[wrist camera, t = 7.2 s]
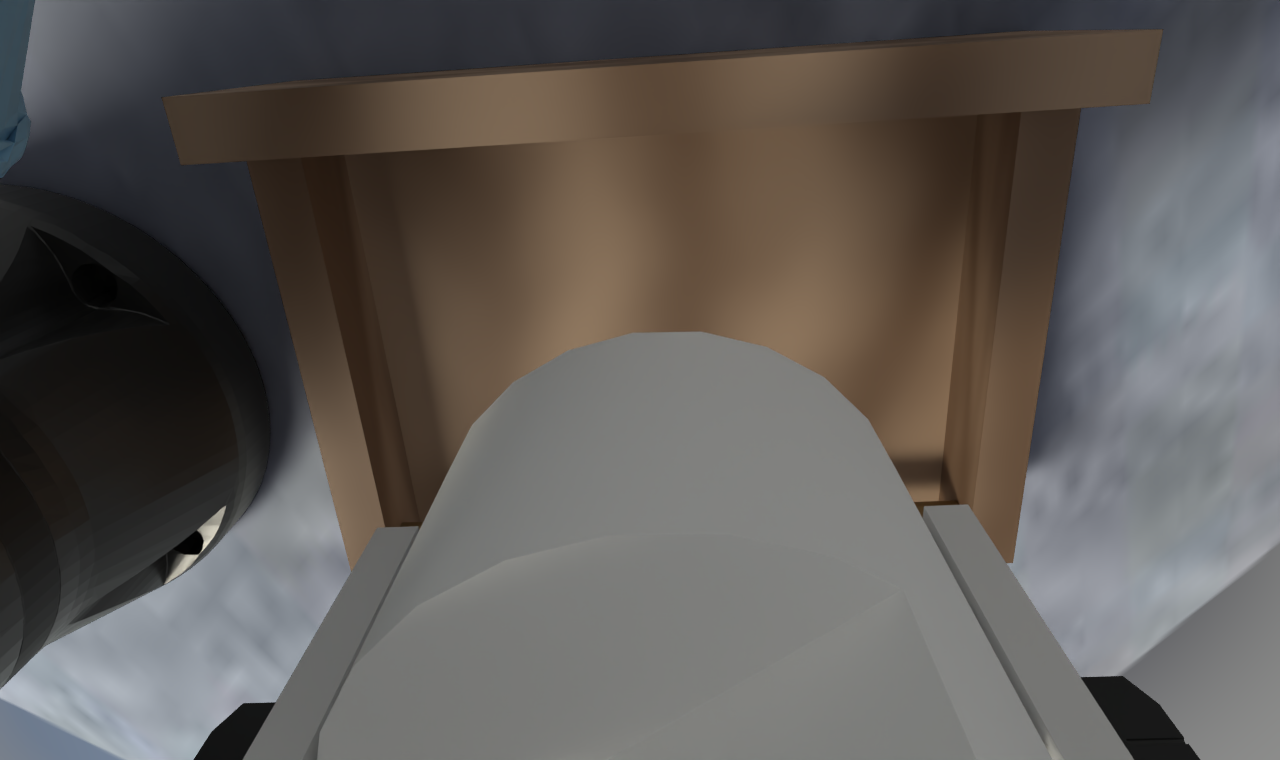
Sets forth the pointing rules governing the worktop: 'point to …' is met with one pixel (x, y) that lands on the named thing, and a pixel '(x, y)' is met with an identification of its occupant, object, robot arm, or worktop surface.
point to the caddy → (676, 236)
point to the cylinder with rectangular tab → (675, 582)
